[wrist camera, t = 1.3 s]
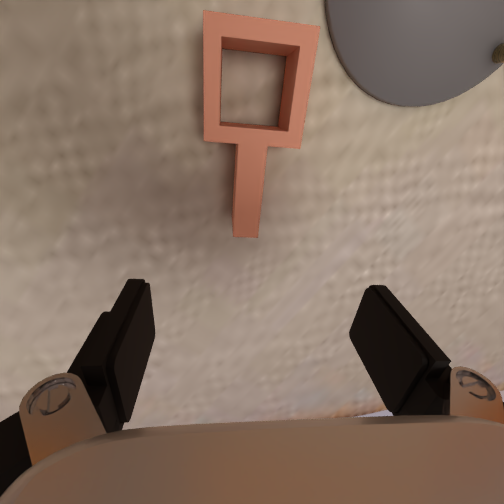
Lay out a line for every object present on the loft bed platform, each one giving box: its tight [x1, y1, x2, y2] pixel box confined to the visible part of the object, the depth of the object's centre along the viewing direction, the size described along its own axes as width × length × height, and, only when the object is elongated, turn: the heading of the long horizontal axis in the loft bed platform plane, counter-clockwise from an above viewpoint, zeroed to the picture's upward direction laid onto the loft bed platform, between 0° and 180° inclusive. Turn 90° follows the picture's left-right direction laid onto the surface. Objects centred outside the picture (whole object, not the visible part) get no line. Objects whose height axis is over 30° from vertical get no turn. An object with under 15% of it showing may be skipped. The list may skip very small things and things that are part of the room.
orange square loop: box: [203, 10, 320, 238], centre depth 20 cm, size 14×7×4 cm, turn 175°
